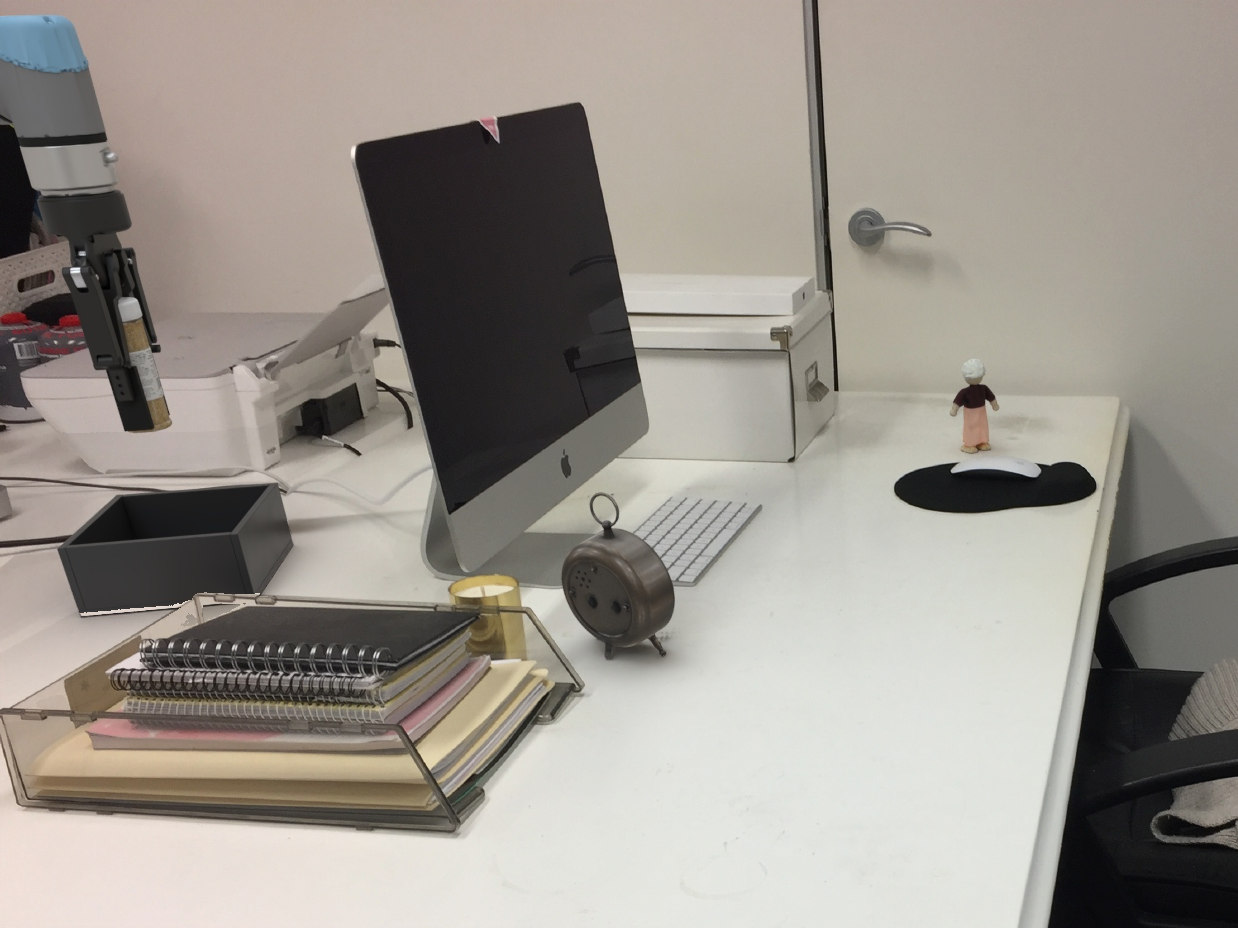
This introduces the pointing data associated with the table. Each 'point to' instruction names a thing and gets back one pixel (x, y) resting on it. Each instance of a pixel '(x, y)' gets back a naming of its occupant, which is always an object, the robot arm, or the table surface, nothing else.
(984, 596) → the table surface
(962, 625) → the table surface
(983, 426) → the grandmother figurine
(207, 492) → the basket
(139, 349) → the sprinkles bottle
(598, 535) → the alarm clock
